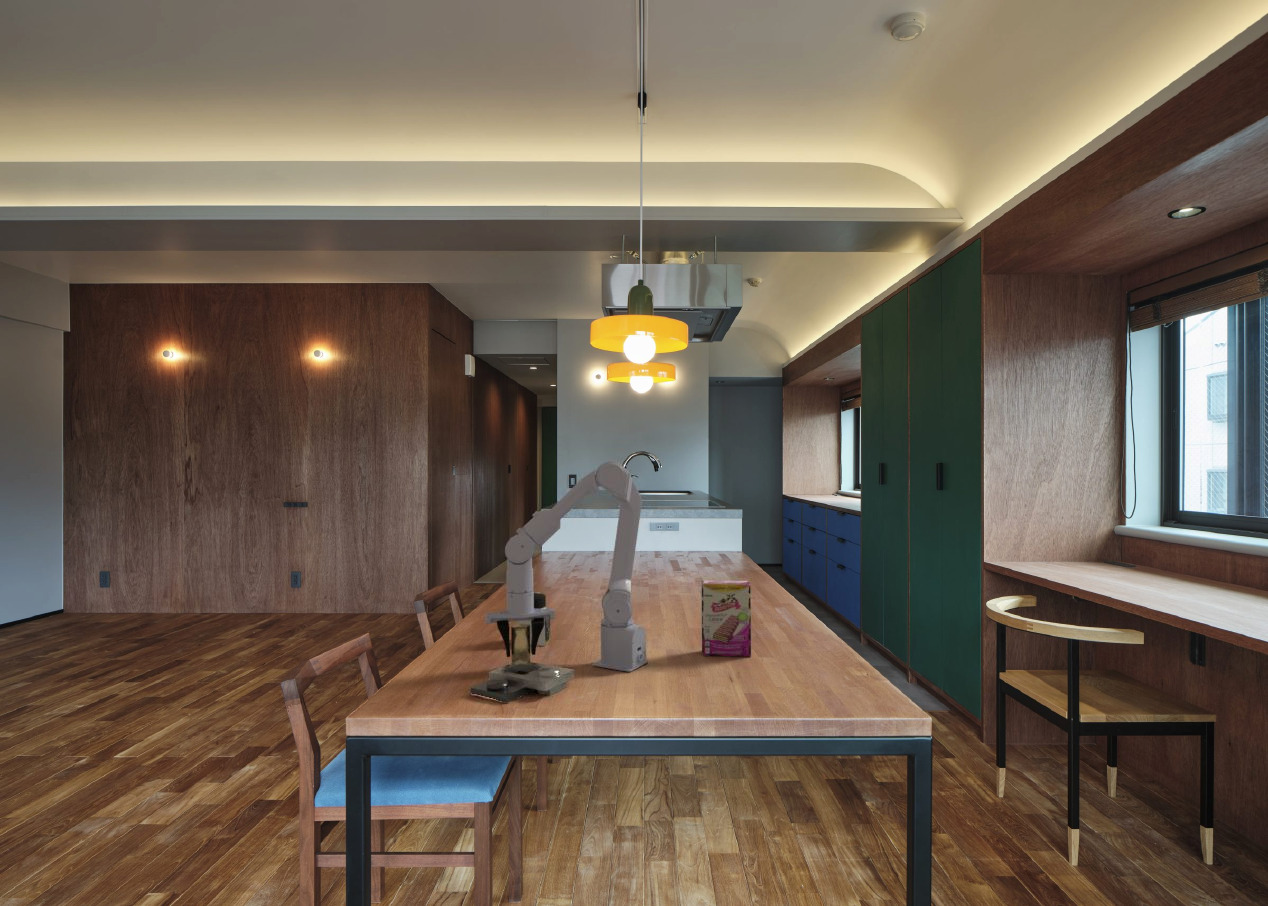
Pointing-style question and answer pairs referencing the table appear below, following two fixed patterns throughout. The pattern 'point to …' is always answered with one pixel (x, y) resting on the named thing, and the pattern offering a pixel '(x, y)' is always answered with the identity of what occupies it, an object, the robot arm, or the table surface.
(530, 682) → the grey square hole plate
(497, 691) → the black base board
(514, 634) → the brass pin
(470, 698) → the table surface
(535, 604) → the medicine bottle
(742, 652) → the candy bar box
